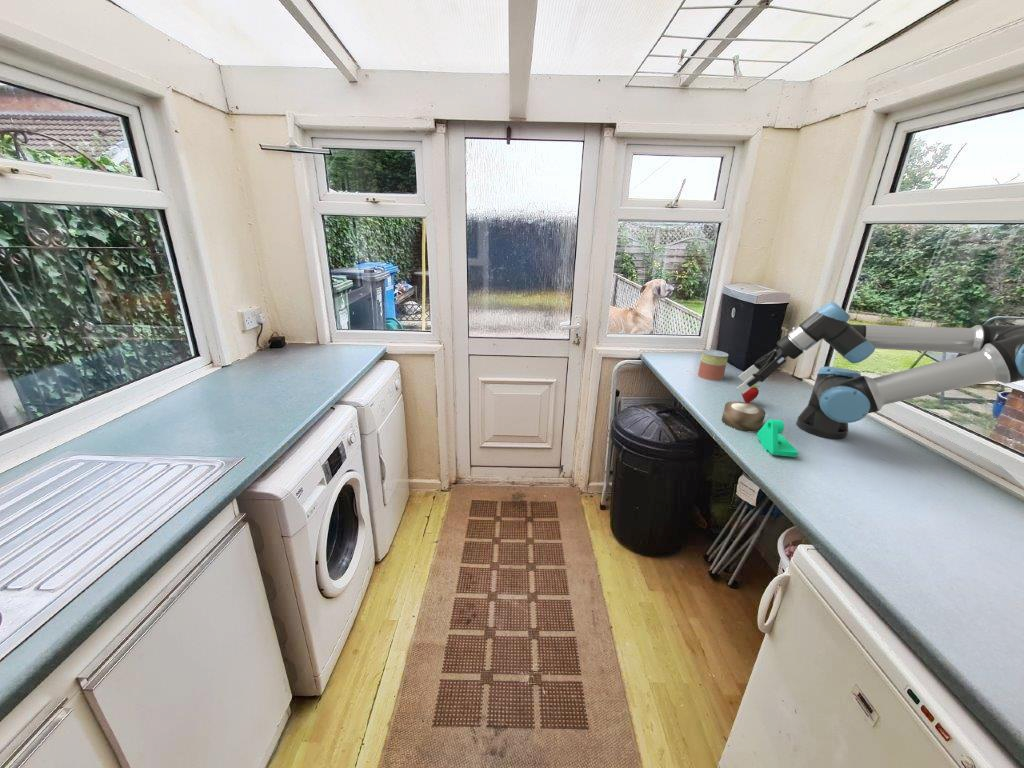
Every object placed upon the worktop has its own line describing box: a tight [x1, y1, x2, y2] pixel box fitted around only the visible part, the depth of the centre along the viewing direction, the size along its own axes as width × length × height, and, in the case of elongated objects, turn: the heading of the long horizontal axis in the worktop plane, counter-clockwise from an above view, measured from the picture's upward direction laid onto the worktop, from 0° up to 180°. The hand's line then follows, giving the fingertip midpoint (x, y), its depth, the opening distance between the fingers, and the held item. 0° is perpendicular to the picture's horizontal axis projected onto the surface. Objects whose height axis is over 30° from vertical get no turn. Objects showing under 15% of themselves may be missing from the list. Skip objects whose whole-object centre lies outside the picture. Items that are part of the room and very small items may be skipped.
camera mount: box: [756, 418, 799, 458], centre depth 134 cm, size 12×8×10 cm, turn 172°
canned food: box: [697, 349, 730, 382], centre depth 198 cm, size 11×11×12 cm
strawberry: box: [740, 384, 760, 404], centre depth 169 cm, size 6×8×10 cm
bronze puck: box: [721, 400, 766, 432], centre depth 152 cm, size 13×13×6 cm
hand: (740, 384), depth 147 cm, fingers open, 13 cm apart
